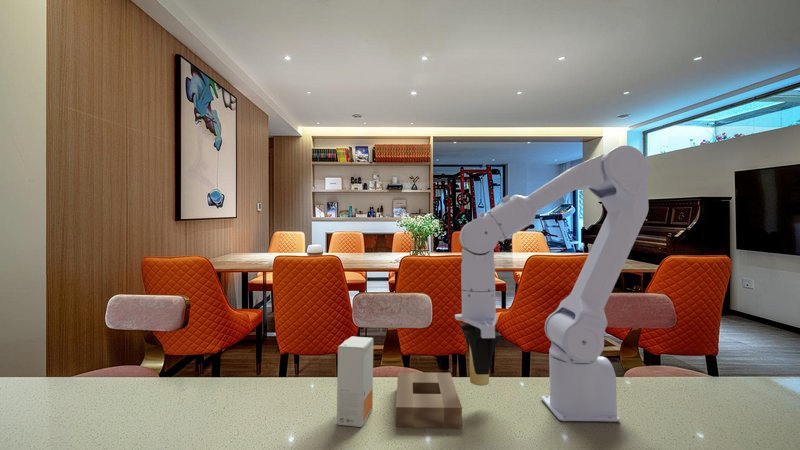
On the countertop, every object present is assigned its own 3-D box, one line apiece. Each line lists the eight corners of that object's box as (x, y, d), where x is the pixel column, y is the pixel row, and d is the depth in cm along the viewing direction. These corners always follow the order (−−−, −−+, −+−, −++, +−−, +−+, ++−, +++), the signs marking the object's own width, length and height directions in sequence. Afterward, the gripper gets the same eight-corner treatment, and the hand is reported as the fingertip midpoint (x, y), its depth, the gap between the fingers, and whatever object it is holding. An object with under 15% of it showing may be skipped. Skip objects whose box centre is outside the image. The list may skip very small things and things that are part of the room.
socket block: (450, 388, 67) (450, 372, 67) (462, 428, 53) (461, 407, 53) (397, 388, 68) (397, 372, 68) (395, 427, 54) (395, 407, 54)
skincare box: (362, 428, 53) (363, 347, 54) (336, 425, 54) (336, 346, 55) (373, 409, 59) (374, 337, 60) (349, 407, 60) (350, 335, 61)
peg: (486, 378, 62) (486, 337, 62) (491, 385, 59) (490, 343, 59) (468, 378, 62) (467, 337, 62) (471, 385, 59) (471, 343, 59)
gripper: (449, 284, 68) (450, 355, 68) (461, 296, 54) (462, 387, 53) (486, 284, 68) (487, 355, 68) (508, 296, 54) (509, 387, 53)
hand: (479, 369), depth 61 cm, fingers closed on peg, 3 cm apart
